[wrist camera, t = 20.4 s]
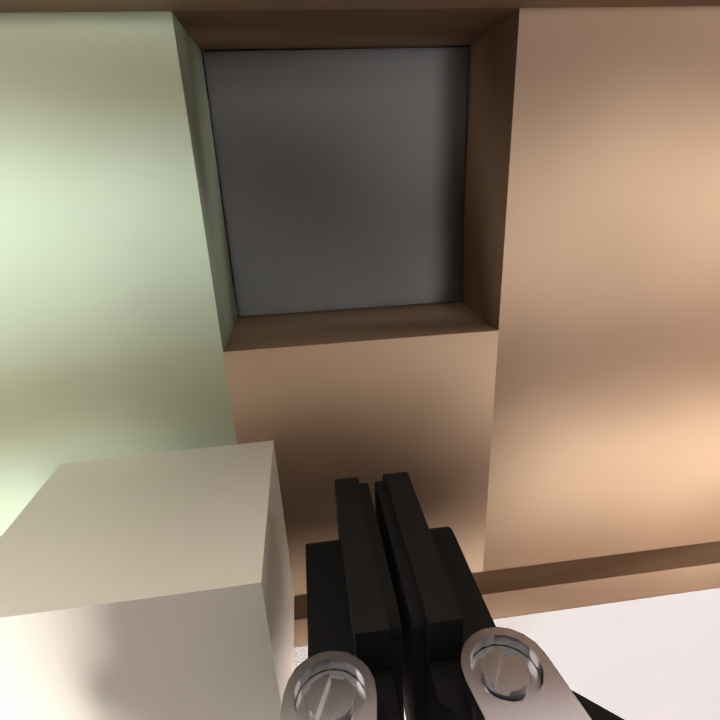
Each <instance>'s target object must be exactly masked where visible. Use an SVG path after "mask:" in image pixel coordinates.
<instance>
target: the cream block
mask: <svg viewBox="0 0 720 720" xmlns="http://www.w3.org/2000/svg"><path fill="white" fill-rule="evenodd" d="M293 672H294V587H293V580H292V573H291V565H290V558H289V550H288V543H287V536H286V528H285V521H284V513H283V506H282V499H281V491H280V484H279V477H278V469H277V462H276V454H275V447H274V440H272V441H263V442H254V443H244V444H235V445H226V446H217V447H208V448H198V449H189V450H180V451H171V452H161V453H152V454H143V455H134V456H124V457H115V458H106V459H97V460H87V461H78V462H69V463H61V464H60V465H59V467H58V468H57V469H56V470H55V471H54V473H53V474H52V475H51V476H50V477H49V479H48V480H47V481H46V482H45V484H44V485H43V486H42V487H41V488H40V490H39V491H38V492H37V493H36V495H35V496H34V497H33V498H32V499H31V501H30V502H29V503H28V504H27V505H26V507H25V508H24V509H23V510H22V512H21V513H20V514H19V515H18V516H17V518H16V519H15V520H14V521H13V522H12V524H11V525H10V526H9V527H8V529H7V530H6V531H5V532H4V533H3V535H2V536H1V537H0V720H279V718H280V712H281V707H282V701H283V695H284V691H285V688H286V685H287V682H288V679H289V678H290V676H291V675H292V673H293Z"/></svg>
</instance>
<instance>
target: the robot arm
mask: <svg viewBox="0 0 720 720" xmlns="http://www.w3.org/2000/svg"><path fill="white" fill-rule="evenodd" d="M334 483H335V497H336V510H337V524H338V537H339V540H333V541H325V542H316V543H308V544H306V588H307V626H308V658H307V659H306V660H305V661H304V662H303V663H301V664H300V665H299V666H298V667H297V668H296V669H295V671H294V672H293V673H292V675H291V676H290V678H289V679H288V682H287V685H286V688H285V691H284V695H283V701H282V707H281V712H280V718H279V720H404V709H405V714H406V719H407V720H624V719H622V718H620V717H618V716H617V715H615V714H613V713H611V712H609V711H608V710H606V709H604V708H602V707H601V706H599V705H597V704H595V703H593V702H592V701H590V700H588V699H586V698H585V697H583V696H581V695H579V694H577V693H576V692H574V691H572V690H571V689H570V688H569V686H568V685H567V684H566V682H565V681H564V679H563V678H562V676H561V675H560V674H559V672H558V671H557V669H556V668H555V666H554V665H553V664H552V662H551V661H550V659H549V658H548V656H547V655H546V654H545V652H544V651H543V650H542V649H541V648H540V647H539V646H538V645H537V644H536V643H535V642H534V641H533V640H531V639H530V638H528V637H527V636H525V635H524V634H522V633H519V632H517V631H514V630H512V629H508V628H501V627H496V626H495V624H494V622H493V619H492V617H491V615H490V613H489V610H488V608H487V606H486V604H485V601H484V599H483V597H482V595H481V593H480V590H479V588H478V586H477V584H476V581H475V579H474V577H473V575H472V572H471V570H470V568H469V566H468V564H467V561H466V559H465V557H464V555H463V552H462V550H461V548H460V546H459V543H458V541H457V539H456V537H455V535H454V532H453V531H452V529H451V528H450V527H449V526H447V527H439V528H431V529H429V527H428V525H427V522H426V519H425V517H424V514H423V511H422V509H421V506H420V504H419V501H418V498H417V496H416V493H415V491H414V488H413V485H412V483H411V480H410V477H409V475H408V473H407V472H398V473H389V474H383V481H375V484H374V487H375V509H374V505H373V501H372V497H371V493H370V488H369V484H368V482H366V483H359V479H358V477H353V478H344V479H334ZM375 513H376V514H375Z"/></svg>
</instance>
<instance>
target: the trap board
mask: <svg viewBox="0 0 720 720" xmlns="http://www.w3.org/2000/svg"><path fill="white" fill-rule="evenodd" d="M429 47H451V48H429ZM372 48H394V49H372ZM315 49H337V50H315ZM258 50H280V51H258ZM202 51H224V52H203V56H204V63H203V56H202ZM204 64H205V70H204ZM205 71H206V78H207V85H206V78H205ZM207 86H208V92H207ZM208 93H209V100H208ZM209 101H210V107H209ZM210 108H211V114H210ZM211 115H212V122H211ZM212 123H213V129H212ZM213 130H214V136H213ZM214 137H215V144H214ZM215 145H216V151H215ZM216 152H217V158H216ZM217 160H218V166H217ZM218 167H219V173H218ZM219 174H220V180H219ZM220 182H221V188H220ZM221 189H222V195H221ZM222 196H223V202H222ZM223 204H224V210H223ZM224 211H225V217H224ZM225 218H226V224H225ZM226 226H227V232H226ZM227 233H228V239H227ZM228 241H229V246H228ZM229 248H230V254H229ZM230 255H231V261H230ZM231 263H232V269H231ZM232 270H233V276H232ZM233 277H234V283H233ZM234 285H235V291H234ZM235 292H236V298H235ZM236 300H237V305H236ZM237 307H238V313H237ZM238 314H239V317H238ZM272 440H274V447H275V454H276V462H277V469H278V477H279V484H280V491H281V499H282V506H283V513H284V521H285V528H286V536H287V543H288V550H289V558H290V565H291V573H292V580H293V587H294V647H299V646H306V645H308V626H307V588H306V544H308V543H316V542H325V541H333V540H339V537H338V524H337V510H336V497H335V483H334V479H344V478H353V477H358V479H359V483H366V482H368V484H369V488H370V493H371V497H372V501H373V505H374V509H375V487H374V484H375V481H383V474H389V473H398V472H407V473H408V475H409V477H410V480H411V483H412V485H413V488H414V491H415V493H416V496H417V498H418V501H419V504H420V506H421V509H422V511H423V514H424V517H425V519H426V522H427V525H428V527H429V529H431V528H439V527H447V526H449V527H450V528H451V529H452V531H453V532H454V535H455V537H456V539H457V541H458V543H459V546H460V548H461V550H462V552H463V555H464V557H465V559H466V561H467V564H468V566H469V568H470V570H471V572H472V575H473V577H474V579H475V581H476V584H477V586H478V588H479V590H480V593H481V595H482V597H483V599H484V601H485V604H486V606H487V608H488V610H489V613H490V615H491V617H492V619H499V618H506V617H513V616H521V615H528V614H535V613H542V612H549V611H556V610H564V609H571V608H578V607H585V606H592V605H599V604H606V603H614V602H621V601H628V600H635V599H642V598H649V597H657V596H664V595H671V594H678V593H685V592H692V591H699V590H707V589H714V588H720V0H0V537H1V536H2V535H3V533H4V532H5V531H6V530H7V529H8V527H9V526H10V525H11V524H12V522H13V521H14V520H15V519H16V518H17V516H18V515H19V514H20V513H21V512H22V510H23V509H24V508H25V507H26V505H27V504H28V503H29V502H30V501H31V499H32V498H33V497H34V496H35V495H36V493H37V492H38V491H39V490H40V488H41V487H42V486H43V485H44V484H45V482H46V481H47V480H48V479H49V477H50V476H51V475H52V474H53V473H54V471H55V470H56V469H57V468H58V467H59V465H60V464H61V463H69V462H78V461H87V460H97V459H106V458H115V457H124V456H134V455H143V454H152V453H161V452H171V451H180V450H189V449H198V448H208V447H217V446H226V445H235V444H244V443H254V442H263V441H272ZM375 514H376V513H375Z"/></svg>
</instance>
